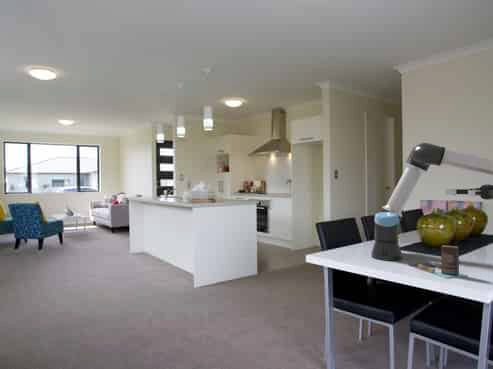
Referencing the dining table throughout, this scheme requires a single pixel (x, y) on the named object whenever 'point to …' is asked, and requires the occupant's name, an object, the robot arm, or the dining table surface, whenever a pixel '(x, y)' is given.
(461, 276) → the pad
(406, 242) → the dining table surface
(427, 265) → the trap track
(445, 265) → the box
